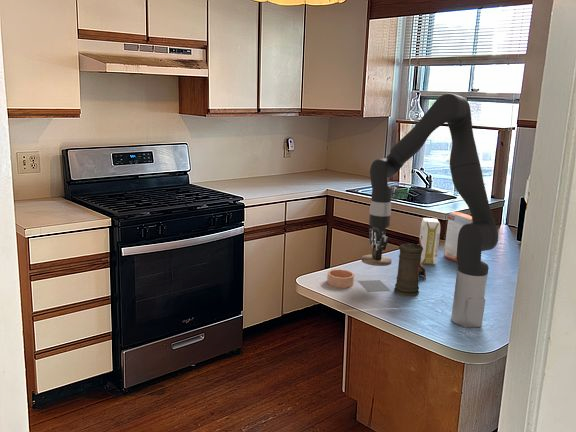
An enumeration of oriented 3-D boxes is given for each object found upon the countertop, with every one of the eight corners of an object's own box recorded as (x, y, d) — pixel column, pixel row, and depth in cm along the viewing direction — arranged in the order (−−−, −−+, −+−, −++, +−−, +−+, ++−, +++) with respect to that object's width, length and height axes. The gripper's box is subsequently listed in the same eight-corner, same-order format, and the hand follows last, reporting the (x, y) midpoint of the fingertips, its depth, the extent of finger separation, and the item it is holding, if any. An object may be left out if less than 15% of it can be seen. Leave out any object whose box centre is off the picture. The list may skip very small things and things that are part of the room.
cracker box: (474, 264, 234) (480, 218, 229) (463, 265, 232) (469, 219, 227) (453, 255, 246) (459, 211, 242) (443, 256, 244) (448, 211, 239)
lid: (396, 265, 195) (397, 252, 193) (367, 266, 192) (368, 253, 191) (384, 256, 205) (385, 244, 204) (357, 257, 203) (358, 244, 201)
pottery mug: (429, 283, 209) (422, 267, 206) (406, 291, 212) (399, 275, 208) (424, 266, 220) (418, 250, 217) (402, 274, 222) (396, 258, 219)
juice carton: (433, 259, 238) (438, 218, 234) (436, 265, 230) (442, 222, 226) (416, 258, 239) (421, 217, 235) (419, 264, 231) (423, 221, 226)
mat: (390, 291, 197) (390, 290, 197) (367, 292, 195) (367, 291, 195) (379, 281, 208) (379, 280, 207) (357, 281, 206) (357, 280, 206)
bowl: (356, 288, 199) (357, 277, 198) (331, 288, 197) (332, 278, 196) (348, 278, 208) (349, 269, 207) (324, 279, 206) (324, 269, 205)
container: (400, 298, 192) (406, 250, 187) (389, 288, 200) (394, 242, 196) (423, 296, 194) (428, 249, 190) (411, 287, 202) (416, 242, 198)
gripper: (397, 217, 189) (393, 264, 193) (382, 209, 202) (378, 253, 206) (377, 217, 187) (374, 264, 191) (363, 209, 200) (360, 253, 204)
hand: (376, 258), depth 198 cm, fingers closed on lid, 2 cm apart
